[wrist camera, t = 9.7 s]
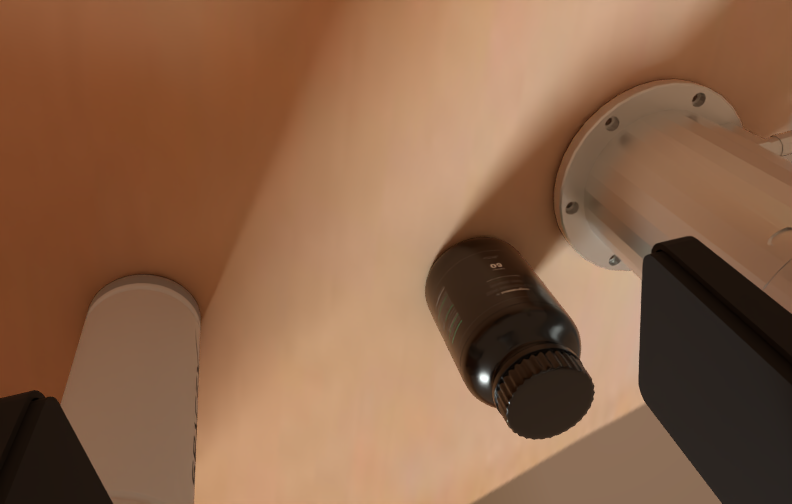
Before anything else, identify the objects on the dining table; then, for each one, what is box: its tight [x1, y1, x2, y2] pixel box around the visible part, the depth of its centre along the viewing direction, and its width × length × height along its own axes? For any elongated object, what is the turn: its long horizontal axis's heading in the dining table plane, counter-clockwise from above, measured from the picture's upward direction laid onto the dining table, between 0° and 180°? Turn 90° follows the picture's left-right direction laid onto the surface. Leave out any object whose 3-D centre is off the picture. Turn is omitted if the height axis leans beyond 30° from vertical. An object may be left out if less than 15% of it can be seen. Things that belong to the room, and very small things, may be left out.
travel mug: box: [60, 275, 201, 504], centre depth 31 cm, size 6×7×20 cm
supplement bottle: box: [425, 237, 595, 440], centre depth 39 cm, size 7×7×12 cm
